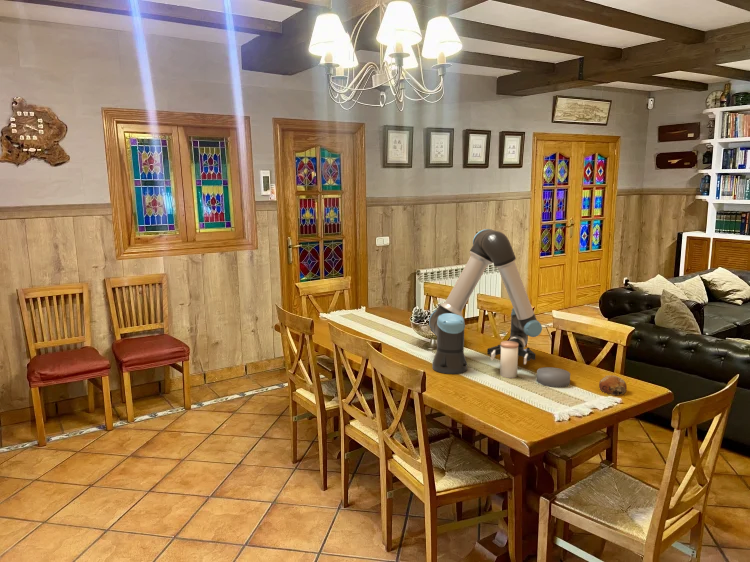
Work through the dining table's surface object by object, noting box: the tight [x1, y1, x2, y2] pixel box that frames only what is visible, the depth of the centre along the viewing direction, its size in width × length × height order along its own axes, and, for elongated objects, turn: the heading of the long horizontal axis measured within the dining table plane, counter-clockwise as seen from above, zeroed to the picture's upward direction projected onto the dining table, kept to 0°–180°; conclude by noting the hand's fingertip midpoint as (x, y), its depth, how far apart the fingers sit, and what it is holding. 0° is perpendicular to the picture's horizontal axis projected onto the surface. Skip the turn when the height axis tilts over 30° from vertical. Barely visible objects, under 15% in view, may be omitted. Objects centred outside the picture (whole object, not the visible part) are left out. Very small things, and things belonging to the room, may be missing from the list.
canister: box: [499, 340, 519, 379], centre depth 232 cm, size 7×7×14 cm
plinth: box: [536, 366, 571, 388], centre depth 225 cm, size 13×13×4 cm
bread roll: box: [598, 375, 628, 396], centre depth 216 cm, size 10×10×8 cm
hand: (508, 359), depth 229 cm, fingers open, 13 cm apart
